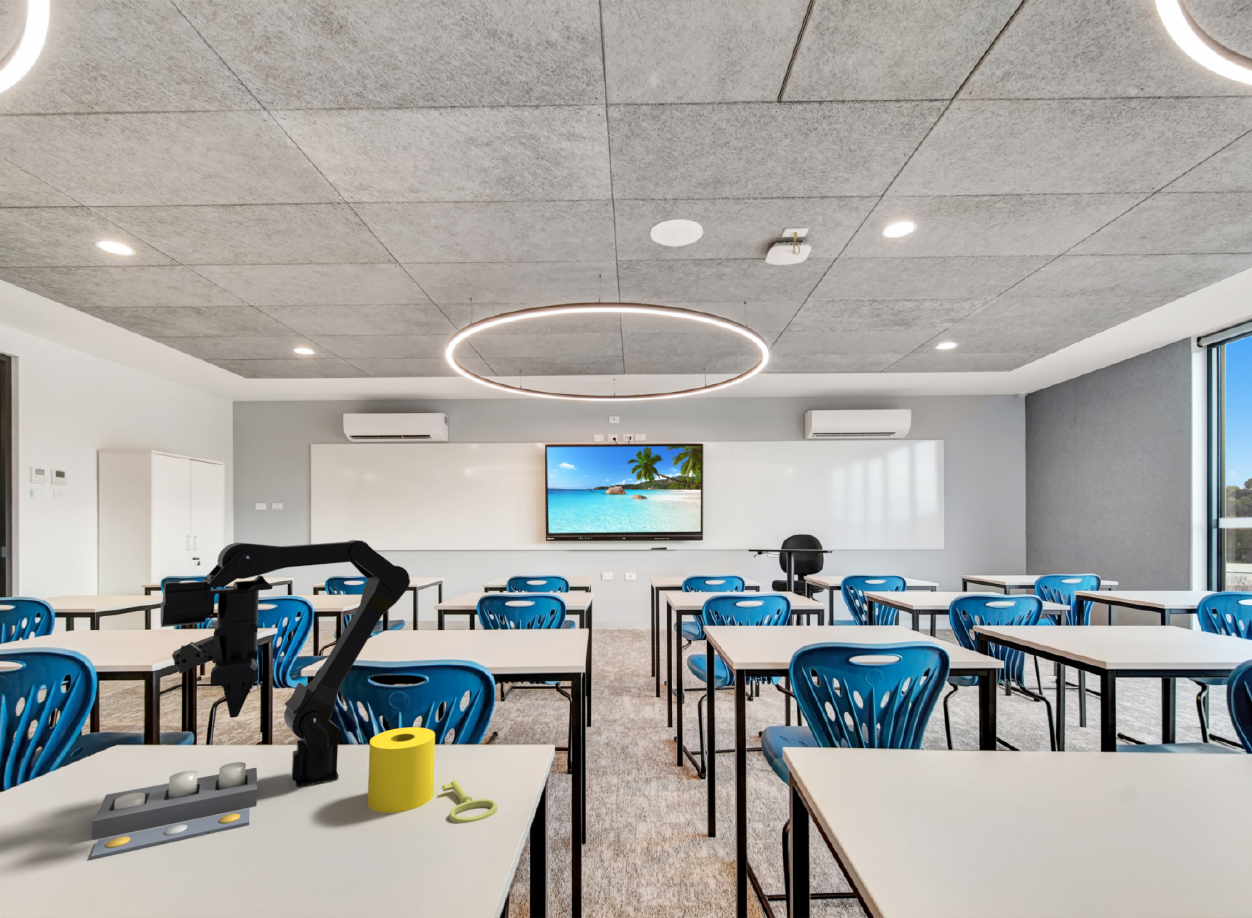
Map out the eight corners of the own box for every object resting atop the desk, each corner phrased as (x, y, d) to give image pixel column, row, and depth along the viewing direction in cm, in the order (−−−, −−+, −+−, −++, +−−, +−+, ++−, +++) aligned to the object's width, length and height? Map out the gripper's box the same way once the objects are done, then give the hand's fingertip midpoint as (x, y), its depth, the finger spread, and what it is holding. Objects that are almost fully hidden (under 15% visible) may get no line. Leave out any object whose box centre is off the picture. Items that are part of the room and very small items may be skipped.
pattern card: (249, 811, 96) (249, 806, 96) (249, 824, 91) (249, 820, 92) (98, 842, 86) (98, 838, 86) (90, 859, 82) (90, 854, 82)
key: (454, 791, 104) (454, 778, 104) (503, 813, 96) (503, 799, 96) (416, 807, 98) (416, 793, 98) (464, 832, 90) (464, 816, 91)
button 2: (244, 779, 103) (245, 760, 103) (244, 787, 100) (245, 767, 100) (218, 784, 101) (219, 764, 101) (217, 792, 98) (219, 772, 98)
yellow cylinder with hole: (353, 806, 97) (355, 743, 98) (398, 781, 107) (400, 724, 108) (403, 817, 94) (405, 752, 95) (446, 790, 103) (447, 731, 104)
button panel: (255, 782, 106) (256, 767, 106) (256, 805, 98) (257, 789, 98) (105, 811, 96) (106, 794, 96) (91, 839, 87) (92, 821, 87)
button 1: (145, 810, 96) (146, 790, 96) (141, 820, 93) (143, 799, 93) (115, 816, 94) (116, 795, 94) (110, 826, 91) (112, 805, 91)
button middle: (197, 788, 99) (198, 768, 100) (195, 796, 96) (196, 776, 96) (169, 793, 97) (170, 773, 98) (166, 802, 94) (168, 781, 95)
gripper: (183, 616, 106) (178, 710, 105) (171, 633, 90) (166, 744, 89) (258, 610, 112) (255, 699, 111) (260, 625, 96) (256, 729, 95)
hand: (234, 716), depth 101 cm, fingers closed
